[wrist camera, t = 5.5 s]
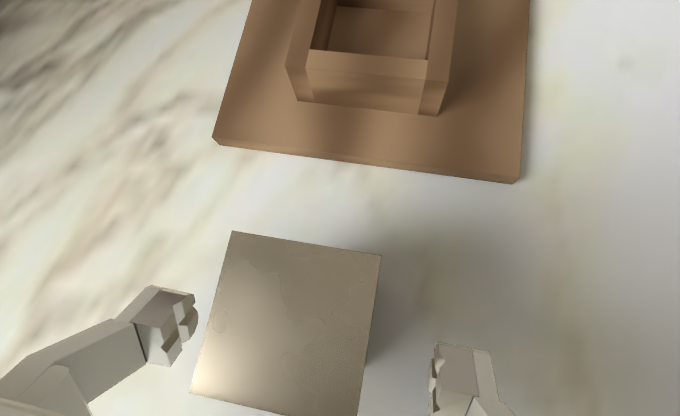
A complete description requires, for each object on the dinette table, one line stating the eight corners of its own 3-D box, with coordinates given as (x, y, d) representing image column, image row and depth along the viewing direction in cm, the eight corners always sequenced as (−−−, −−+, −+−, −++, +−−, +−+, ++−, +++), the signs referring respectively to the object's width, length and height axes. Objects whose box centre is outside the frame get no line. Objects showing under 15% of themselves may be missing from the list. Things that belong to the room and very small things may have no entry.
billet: (281, 350, 17) (189, 392, 9) (299, 267, 18) (231, 230, 10) (364, 367, 17) (354, 432, 8) (377, 281, 18) (380, 255, 9)
